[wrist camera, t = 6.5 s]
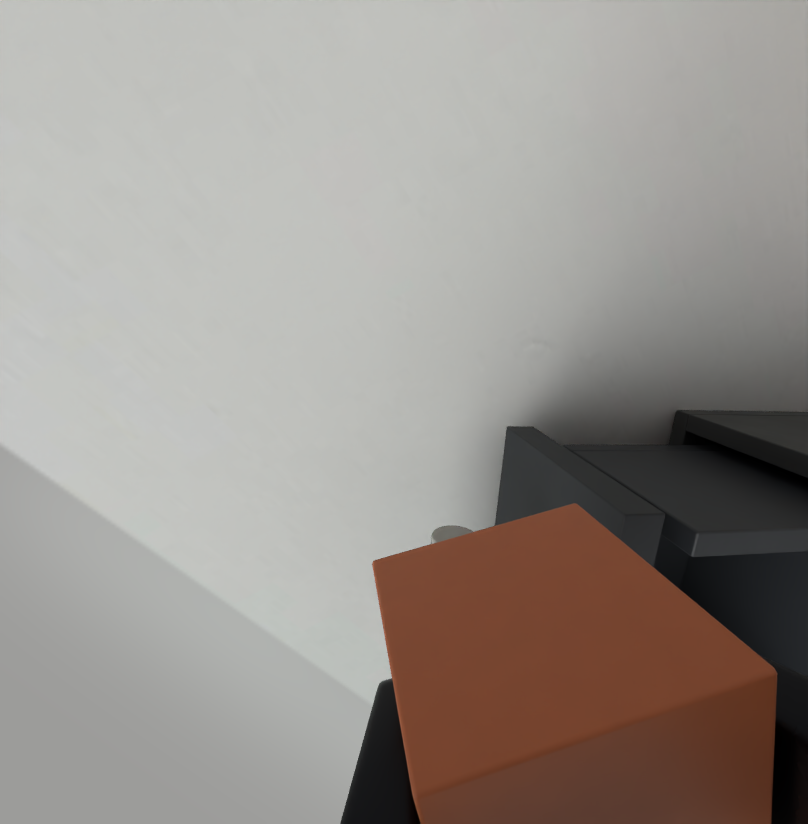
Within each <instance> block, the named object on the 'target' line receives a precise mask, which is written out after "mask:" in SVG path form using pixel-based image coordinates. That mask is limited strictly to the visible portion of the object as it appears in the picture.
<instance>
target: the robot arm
mask: <svg viewBox="0 0 808 824" xmlns="http://www.w3.org/2000/svg"><path fill="white" fill-rule="evenodd" d="M759 656H761V655H759ZM761 657H762V658H763V659H764V660H765V661H767V662H768V663H769V664H770V665H771V666H773V667H774V668H775V670H776V672H777V696H776V721H775V746H774V771H773V797H772V822H771V824H808V677H807V676H805V675H803V674H801V673H798V672H796V671H794V670H792V669H789V668H787V667H785V666H783V665H781V664H778V663H776V662H774V661H772V660H769V659H767V658H765V657H763V656H761ZM341 824H421V823H420V820H419V816H418V813H417V809H416V806H415V802H414V799H413V795H412V790H411V784H410V778H409V772H408V767H407V761H406V755H405V749H404V744H403V738H402V732H401V726H400V721H399V715H398V709H397V703H396V697H395V692H394V686H393V680H392V678H391V679H388V680H385V681H382V682H381V683H380V684H379V686H378V689H377V692H376V696H375V700H374V703H373V707H372V711H371V714H370V718H369V721H368V725H367V729H366V733H365V736H364V740H363V743H362V747H361V751H360V754H359V758H358V761H357V765H356V769H355V772H354V776H353V780H352V783H351V787H350V791H349V794H348V798H347V802H346V805H345V809H344V812H343V816H342V820H341Z"/></svg>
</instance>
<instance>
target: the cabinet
mask: <svg viewBox="0 0 808 824" xmlns="http://www.w3.org/2000/svg"><path fill="white" fill-rule="evenodd" d="M669 445H716V446H718V447H721V448H723V449H726V450H728V451H731V452H734V453H736V454H739V455H741V456H744V457H747V458H749V459H752V460H754V461H757V462H759V463H762V464H764V465H767V466H769V467H772V468H774V469H777V470H779V471H782V472H784V473H787V474H789V475H792V476H794V477H797V478H799V479H802V480H804V481H807V482H808V412H764V411H701V410H677V411H676V415H675V420H674V424H673V429H672V433H671V438H670V443H669Z"/></svg>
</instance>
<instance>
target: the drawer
mask: <svg viewBox="0 0 808 824" xmlns="http://www.w3.org/2000/svg"><path fill="white" fill-rule="evenodd" d="M573 503H576V504H578V505H579V506H580V507H581V508H583V509H584V510H585V511H586V512H587V513H589V514H590V515H591V516H592V517H593V518H595V519H596V520H597V521H598V522H599V523H601V524H602V525H603V526H604V527H605V528H607V529H608V530H609V531H610V532H611V533H613V534H614V535H615V536H616V537H617V538H619V539H620V540H621V541H622V542H624V543H625V544H626V545H627V546H628V547H630V548H631V549H632V550H633V551H634V552H636V553H637V554H638V555H639V556H640V557H642V558H643V559H644V560H645V561H646V562H648V563H649V564H650V565H651V566H652V567H654V568H655V569H656V570H657V571H658V572H660V573H661V574H662V575H663V576H664V577H666V578H667V579H668V580H669V581H670V582H672V583H673V584H674V585H675V586H676V587H678V588H679V589H680V590H681V591H682V592H684V593H685V594H686V595H687V596H688V597H690V598H691V599H692V600H693V601H694V602H696V603H697V604H698V605H699V606H700V607H702V608H703V609H704V610H705V611H706V612H708V613H709V614H710V615H711V616H713V617H714V618H715V619H716V620H717V621H719V622H720V623H721V624H722V625H723V626H725V627H726V628H727V629H728V630H729V631H731V632H732V633H733V634H734V635H735V636H737V637H738V638H739V639H740V640H741V641H743V642H744V643H745V644H746V645H747V646H749V647H750V648H751V649H752V650H753V651H755V652H756V653H757V654H758V655H761V656H763V657H765V658H767V659H769V660H772V661H774V662H776V663H778V664H781V665H783V666H785V667H787V668H789V669H792V670H794V671H796V672H798V673H801V674H803V675H805V676H807V677H808V482H807V481H804V480H802V479H799V478H797V477H794V476H792V475H789V474H787V473H784V472H782V471H779V470H777V469H774V468H772V467H769V466H767V465H764V464H762V463H759V462H757V461H754V460H752V459H749V458H747V457H744V456H741V455H739V454H736V453H734V452H731V451H728V450H726V449H723V448H721V447H718V446H716V445H564V446H561V445H560V444H558V443H557V442H555V441H554V440H552V439H551V438H549V437H548V436H546V435H545V434H543V433H542V432H540V431H539V430H537V429H536V428H534V427H514V426H508V427H507V430H506V439H505V447H504V455H503V463H502V472H501V480H500V488H499V496H498V505H497V513H496V521H495V526H496V525H500V524H503V523H507V522H510V521H514V520H517V519H521V518H524V517H528V516H531V515H535V514H538V513H542V512H545V511H549V510H552V509H556V508H559V507H563V506H566V505H570V504H573ZM472 532H473V531H471V530H469V529H467V528H464V527H460V526H442V527H439V528H437V529H436V530H434V532H433V533H432V538H431V544H434V543H437V542H441V541H444V540H448V539H451V538H455V537H458V536H462V535H465V534H469V533H472Z"/></svg>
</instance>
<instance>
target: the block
mask: <svg viewBox="0 0 808 824" xmlns="http://www.w3.org/2000/svg"><path fill="white" fill-rule="evenodd" d="M372 565H373V571H374V577H375V582H376V588H377V594H378V600H379V605H380V611H381V617H382V623H383V628H384V634H385V640H386V646H387V651H388V657H389V663H390V669H391V674H392V680H393V686H394V692H395V697H396V703H397V709H398V715H399V721H400V726H401V732H402V738H403V744H404V749H405V755H406V761H407V767H408V772H409V778H410V784H411V790H412V795H413V799H414V802H415V806H416V809H417V813H418V816H419V820H420V823H421V824H771V822H772V797H773V771H774V746H775V721H776V696H777V672H776V670H775V668H774V667H773V666H771V665H770V664H769V663H768V662H767V661H765V660H764V659H763V658H762V657H761V656H759V655H758V654H757V653H756V652H755V651H753V650H752V649H751V648H750V647H749V646H747V645H746V644H745V643H744V642H743V641H741V640H740V639H739V638H738V637H737V636H735V635H734V634H733V633H732V632H731V631H729V630H728V629H727V628H726V627H725V626H723V625H722V624H721V623H720V622H719V621H717V620H716V619H715V618H714V617H713V616H711V615H710V614H709V613H708V612H706V611H705V610H704V609H703V608H702V607H700V606H699V605H698V604H697V603H696V602H694V601H693V600H692V599H691V598H690V597H688V596H687V595H686V594H685V593H684V592H682V591H681V590H680V589H679V588H678V587H676V586H675V585H674V584H673V583H672V582H670V581H669V580H668V579H667V578H666V577H664V576H663V575H662V574H661V573H660V572H658V571H657V570H656V569H655V568H654V567H652V566H651V565H650V564H649V563H648V562H646V561H645V560H644V559H643V558H642V557H640V556H639V555H638V554H637V553H636V552H634V551H633V550H632V549H631V548H630V547H628V546H627V545H626V544H625V543H624V542H622V541H621V540H620V539H619V538H617V537H616V536H615V535H614V534H613V533H611V532H610V531H609V530H608V529H607V528H605V527H604V526H603V525H602V524H601V523H599V522H598V521H597V520H596V519H595V518H593V517H592V516H591V515H590V514H589V513H587V512H586V511H585V510H584V509H583V508H581V507H580V506H579V505H578V504H576V503H573V504H570V505H566V506H563V507H559V508H556V509H552V510H549V511H545V512H542V513H538V514H535V515H531V516H528V517H524V518H521V519H517V520H514V521H510V522H507V523H503V524H500V525H496V526H493V527H489V528H486V529H482V530H479V531H475V532H472V533H469V534H465V535H462V536H458V537H455V538H451V539H448V540H444V541H441V542H437V543H434V544H430V545H427V546H423V547H420V548H416V549H413V550H409V551H406V552H402V553H399V554H395V555H392V556H388V557H385V558H381V559H378V560H375V561H373V564H372Z"/></svg>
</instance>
